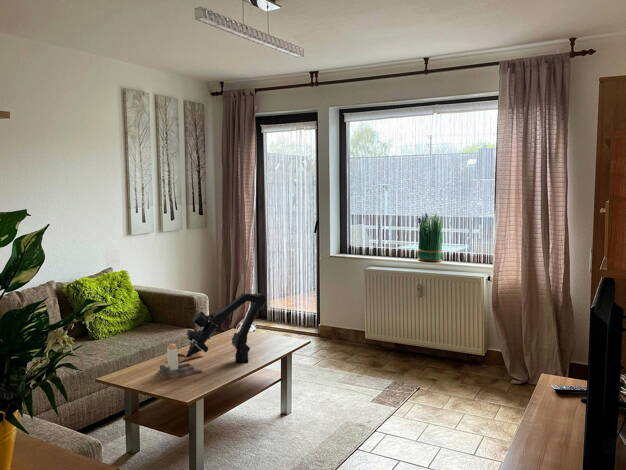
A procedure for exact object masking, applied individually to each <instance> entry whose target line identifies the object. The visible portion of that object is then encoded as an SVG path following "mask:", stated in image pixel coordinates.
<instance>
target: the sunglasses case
mask: <svg viewBox="0 0 626 470" xmlns="http://www.w3.org/2000/svg"><path fill="white" fill-rule="evenodd" d="M187 353H188V351H183V352H179V353H178V365H181V364H182V363H183V364H184V363H186V362H190V361H192V360H197V359H201V358H203V357H204V356H203V355H201V354H200V352H197V353H195V354H193V355H191V356H189V357H187V356H186V355H187Z"/></svg>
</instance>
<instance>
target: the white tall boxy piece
mask: <svg viewBox="0 0 626 470" xmlns="http://www.w3.org/2000/svg"><path fill="white" fill-rule="evenodd" d="M166 354H167V355H166V357H167V367H168V371H172V370H177V369H178V365H179V364H178V354H179V353H178V348H177V345H176V343H169V345H168V347H166Z"/></svg>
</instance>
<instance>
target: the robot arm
mask: <svg viewBox="0 0 626 470" xmlns="http://www.w3.org/2000/svg"><path fill="white" fill-rule="evenodd" d="M266 301H267V298H266V296H265V295H263V294H261V293H258V292H256V293H245V292H243V293H241V294H240V295H239V296H237V298H235V299H234V300H232V301H231V302H230V303H228V304H227V305H226V306H224V307H223V308H220V309H218V310H216V311H214V312H213V313H212V314H208V315H206V314H205V313H204V312H203V311H202V310H201V311H199V312H198V313H195V315H194V316H193V318H192V320H191V321H192V322H193V323H194V324H196V325H197V326H198V328H202V329H199V330H196V329H194V330H192V329H190V328H188V329H187V332H186V334H185V335H186V336H187V337H186V338H187V339H188V340H189V345H190V346H189V349H188V353H187V355H186V356H187V357H189V356H191V355H193V354H195V353H197V352H198V353H200V352H204V353H207V352H208V351H209V347H208V346H207V345H206V342H207V341H208V340H210V339H211V336H212V335H213V334H214V332H215V331H216V330H217V331H218V332H220V330H221V329H220V325H222V324H224V323H225V322H226V321H227V319H228V318H229V316H230V315H231V314H233V312H234V311H236V310H237V309H239V308H240V307H241V306H243V305H244V304H245V303H246V302H250V304H249V305H250V307H249V310H248V312H247V314H246V315H245V318H244V320H243V323H242V325H241V327H240V329H239V331H238V332H234V334H233V336H232V338H231V344H232V346H233V347H234V349H235V350H236V351H235V362H236V364H244V363H245V364H246V363H247V364H248V363H249V352H250V350H251V348H250V347H249V346H248V345H247V342H248V334H249V332H250V330H251V327H252V325H253V323H254V320H255V319H256V316H257V314H258V313H259V311H260V310H261V309H262V308H263V307H264V305H265V304H266Z"/></svg>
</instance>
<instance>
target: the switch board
mask: <svg viewBox="0 0 626 470" xmlns="http://www.w3.org/2000/svg"><path fill="white" fill-rule="evenodd" d="M202 373H203V369H202V368H201V367H200V366H199V365H197V364H196V363H189V362H187V363H186V362H185V363H183V364H182V363H180V364H178V369H177V370H172V371H168V366H166V365H165V364H161V365H159V369H158V370H157V374H158V375H159V376H160V377H161V379H163V380H164V381H165V380H171V379H175V378H181V377H187V376H191V375H197V374H202Z"/></svg>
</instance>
